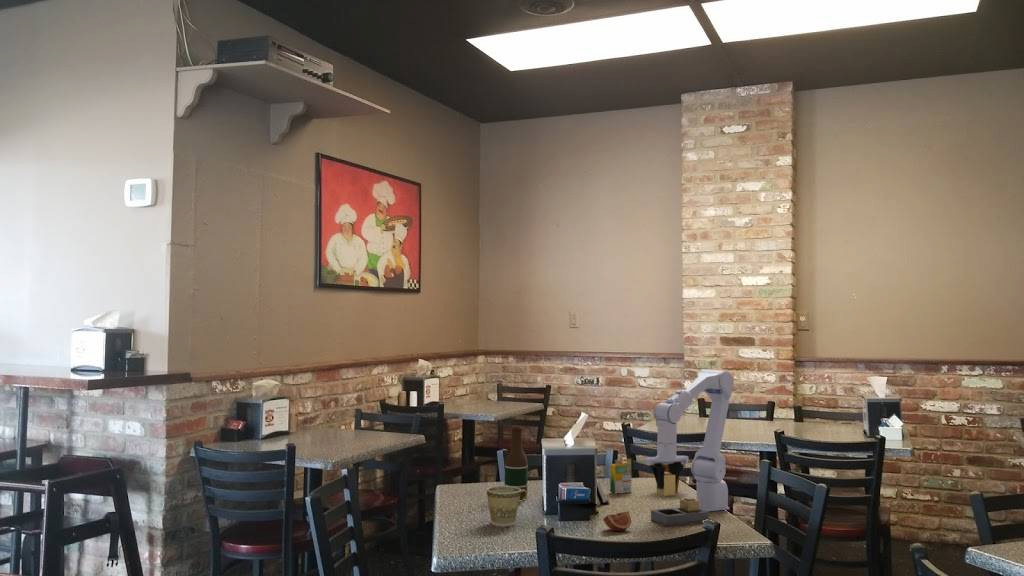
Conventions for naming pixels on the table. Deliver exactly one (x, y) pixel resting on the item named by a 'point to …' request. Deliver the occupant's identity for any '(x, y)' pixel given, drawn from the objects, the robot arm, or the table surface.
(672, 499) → the table surface
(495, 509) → the ceramic cup
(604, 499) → the hinge
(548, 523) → the table surface
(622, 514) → the fruit slice
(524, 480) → the beer bottle
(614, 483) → the crayon box
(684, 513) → the tray
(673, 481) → the beige small block
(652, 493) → the table surface
